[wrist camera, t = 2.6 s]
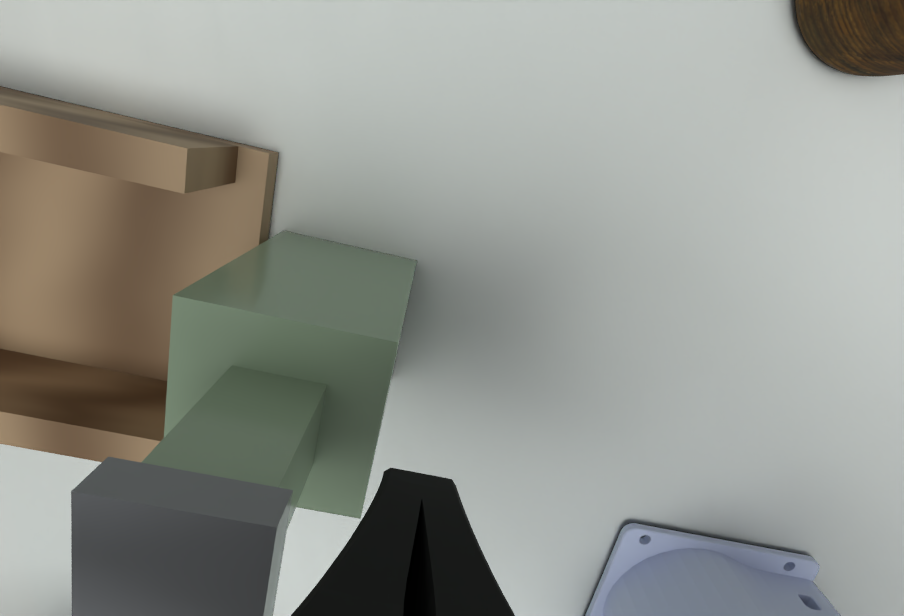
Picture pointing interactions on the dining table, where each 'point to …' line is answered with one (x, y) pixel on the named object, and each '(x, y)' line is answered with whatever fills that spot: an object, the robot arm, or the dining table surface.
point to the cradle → (107, 265)
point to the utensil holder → (855, 34)
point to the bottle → (246, 431)
